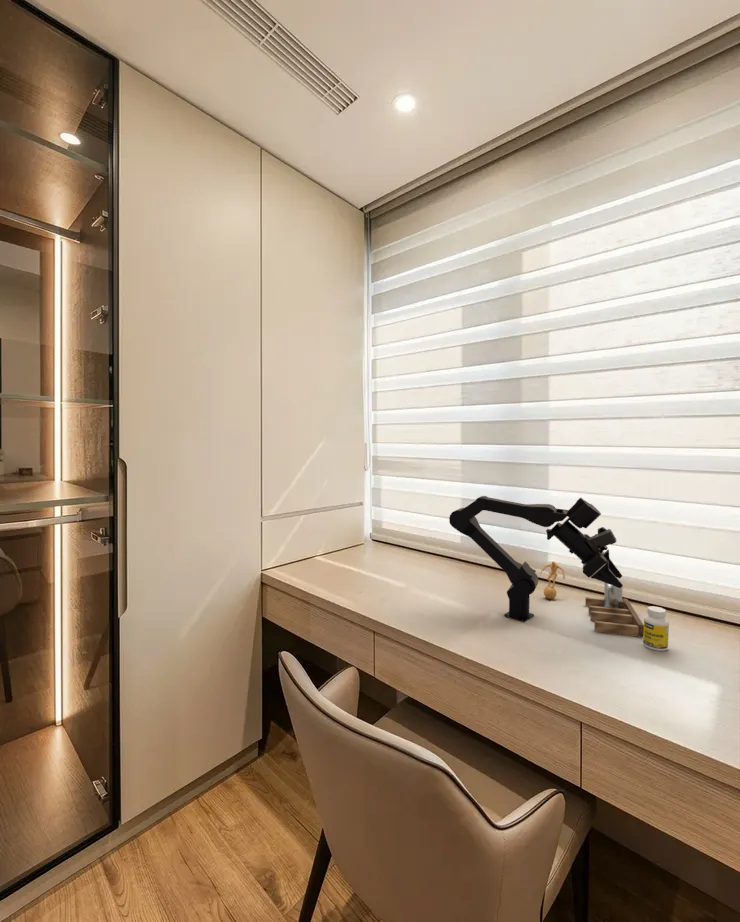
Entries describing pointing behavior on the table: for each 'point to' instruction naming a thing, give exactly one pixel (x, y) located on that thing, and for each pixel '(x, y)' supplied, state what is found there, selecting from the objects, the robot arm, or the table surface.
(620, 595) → the grey can
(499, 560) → the robot arm
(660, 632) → the supplement bottle
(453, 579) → the table surface
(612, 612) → the wooden rack
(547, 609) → the table surface
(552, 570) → the figurine
